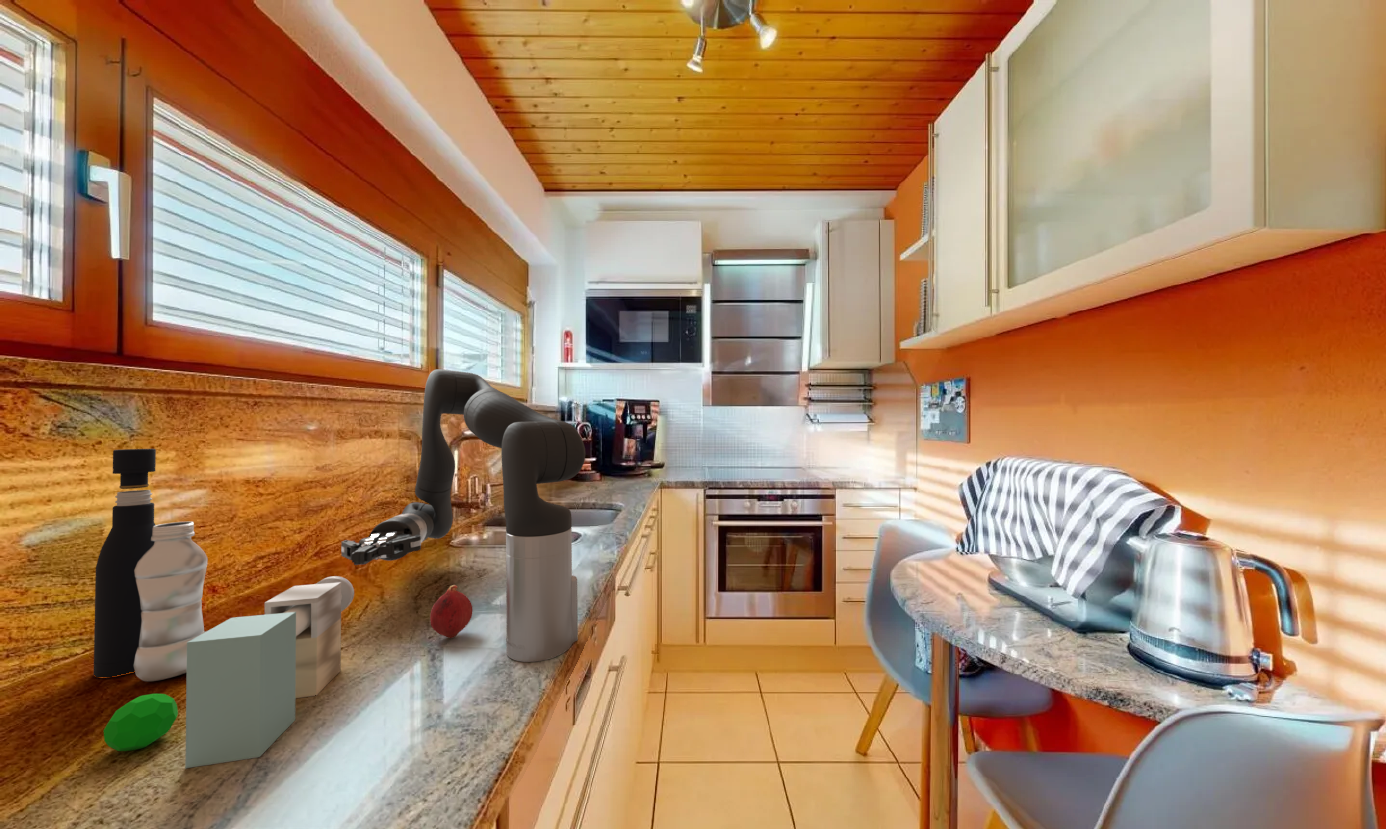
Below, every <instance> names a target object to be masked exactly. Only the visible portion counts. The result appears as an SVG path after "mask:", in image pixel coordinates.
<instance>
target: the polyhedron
mask: <svg viewBox="0 0 1386 829" xmlns="http://www.w3.org/2000/svg"><path fill="white" fill-rule="evenodd" d="M178 710H179V709H178V703H177V702H176V701H175V698H173V697H172V696H169V695H168V694H165V693H149V694H143V695H140V696H138V697H135V698H134V699H132V700H129V702H127V703H125V704H124V705H123V706H121V707H119V708H118V709H116V710H115V711H114V713H113V715H112V716H111V718H110V719H109V721H108V722H107V723H106V726H104V729H103V739H104V743H105V744H106V745H107V747H109V748H111V749H113V750H115V751H117V752H130V751H131V752H132V751H136V750H140V749H145V748H146V747H148V746H150V745H152V743H154V742H156V741H157V740H158V739H161V737H163V736H164V735H166V734H167V733H168V732H169V731H170V729H171V728H172V727H173V725H174V723H175V721H176V719H177V717H178V715H179V711H178Z"/></svg>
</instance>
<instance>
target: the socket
mask: <svg viewBox="0 0 1386 829" xmlns="http://www.w3.org/2000/svg"><path fill="white" fill-rule="evenodd" d="M185 679H186V683H185V684H186V688H185V689H186V692H185V694H186V696H185V697H186V698H185V754H184V755H185V762H184V765H185V767H184V769H189V768H195V767H203V766H210V765H216V764H222V763H223V764H224V763H229V762H235V761H241V760H248V759H255V758H260V757H261V756H262V755H263V754H264V753H265V752H266V751H267V750H268V749H269V748H270V747H271V746H272V745H273V744H274V743H275V741H277V739H279V738H280V737H281V735H282V734H283V733H284V732H285V731H286V730H287V729H288V728H289V727H290V726H291V725H292V724H293V723H294V722H295V721H296V698H295V679H296V612H289V613H278V614H267V615H265V614H257V615H246V616H237V617H229V619H226V620H225V621H223V622H221V623H220V624H218V625H216V626H214V627H213V628H210V629H209V630H206V631H205V633H203V634H201V635H199V636H198V637H196V638H194V639H192V640H190V641H189V642H187V673H186V678H185Z"/></svg>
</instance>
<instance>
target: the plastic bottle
mask: <svg viewBox="0 0 1386 829" xmlns="http://www.w3.org/2000/svg"><path fill="white" fill-rule="evenodd" d="M155 525H156V526H153V532H152V537H151V541H155V542H154V545H153V546H152V547H151V548H150V549H149V550H148V551H147V552H146V553H145V554H144V555H143V556H142V558H141V559H140V560H139V561H138V563H137V565H136V567H135V570H134V572H135V577H136V583H137V588H138V592H139V596H140V606H141V610H142V612H141V619H142V622H141V630H140V638H139V646H138V648H137V651H136V655H135V660H134V665H133V666H134V670H135V673H134V674H135V676H136V677H137V678H138V679H139V680H141V681H142V682H157V681H163V680H166V679H171V678H174V677H178V676H181V675H183V674H187V642H189V641H190V640H192V639H194V638H196V637H198V636H199V635H201V634H203V633H205V632H206V631H205V627H204V626H205V624H204V617H203V610H202V605H203V604H202V603H203V600H202V598H203V591H204V590H203V589H204V584H205V578H206V572H207V566H208V560H209V559H208V556H207V554H206V552H205V551H204V550H203V548H202V547H201V546H199V544H197V543H196V542H195V541H193V540H192V537H193V536H195V534H196V532H195V531H194V530H195V523H194V521H175V522H167V523H161V524H155Z"/></svg>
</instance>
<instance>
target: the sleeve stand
mask: <svg viewBox="0 0 1386 829" xmlns="http://www.w3.org/2000/svg"><path fill="white" fill-rule="evenodd" d="M300 604H311V626H309V627H308V628H307V629H305V630H304V631H303V632H301V633H300V634H299V635H297V636H296V679H295V699H300V698H307V697H316V696H317V695H318V694H320V692H322V691H323V689H325V687H326V686H328V684H329V683H330V682H331V681H332V680H333V679H334V678H335V677H336V676H337V675H338V674H339V673H341V671H342V669H341V668H342V665H341V664H342V662H341V660H342V612H341V582H337V583H325V584H316V583H314V584H301V585H293V586H292V587H290V588H288V589H286V590H284V591H283V592H280V593H279V594H277V595H275V596H273V597H272V598H271V599H268V600H267V601H265V602H264V615H267V614H278V613H284V612H285V611H287V610H288V609H290V608H292V607H293V606H295V605H300ZM315 695H316V696H315Z"/></svg>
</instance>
